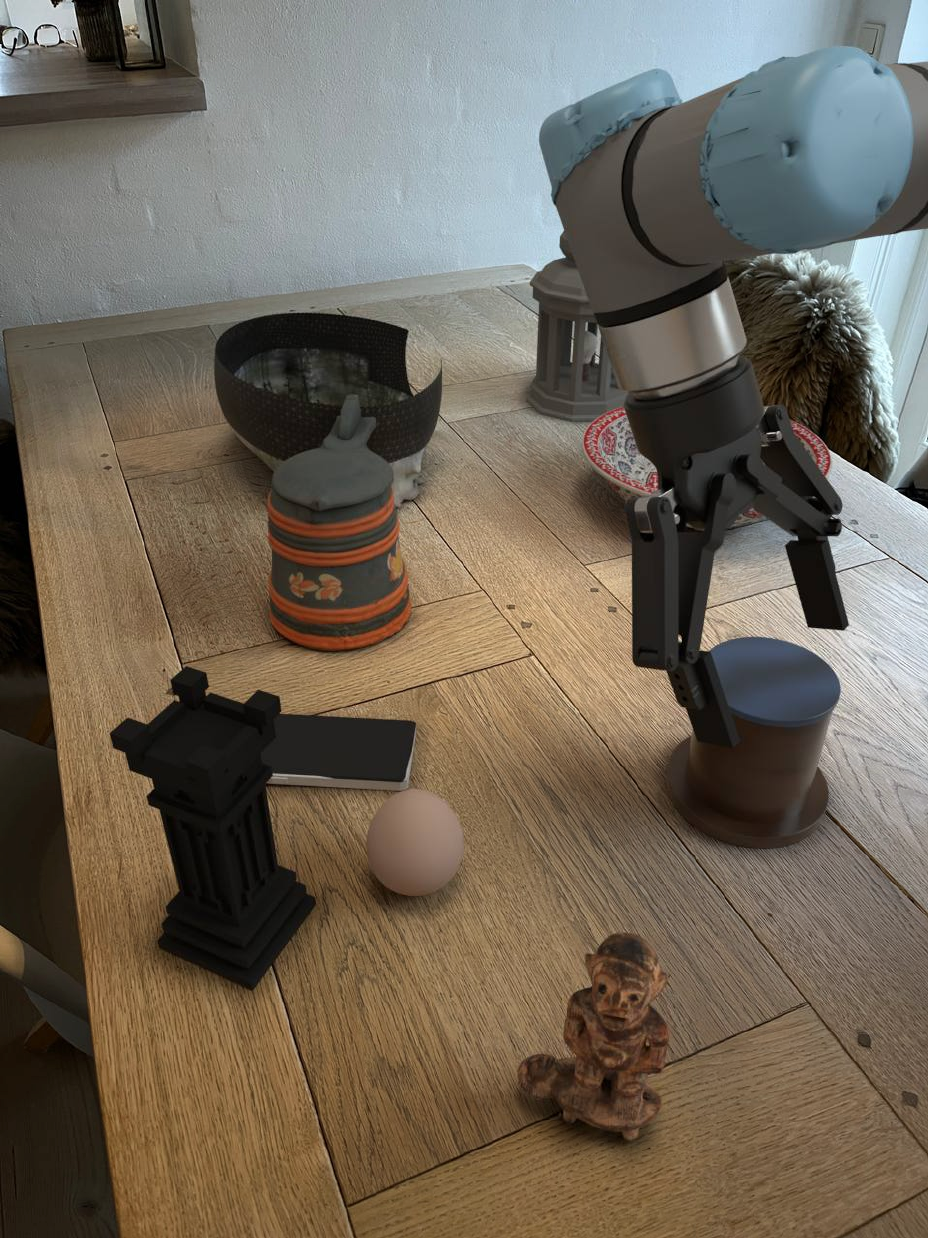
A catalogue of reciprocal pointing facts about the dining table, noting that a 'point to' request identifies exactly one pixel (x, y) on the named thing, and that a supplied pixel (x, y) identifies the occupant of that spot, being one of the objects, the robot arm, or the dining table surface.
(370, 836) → the egg
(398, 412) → the basket
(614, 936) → the figurine
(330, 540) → the tankard
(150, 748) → the chess piece
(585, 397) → the lantern
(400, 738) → the smartphone
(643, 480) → the ceramic bowl
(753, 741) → the pedestal
